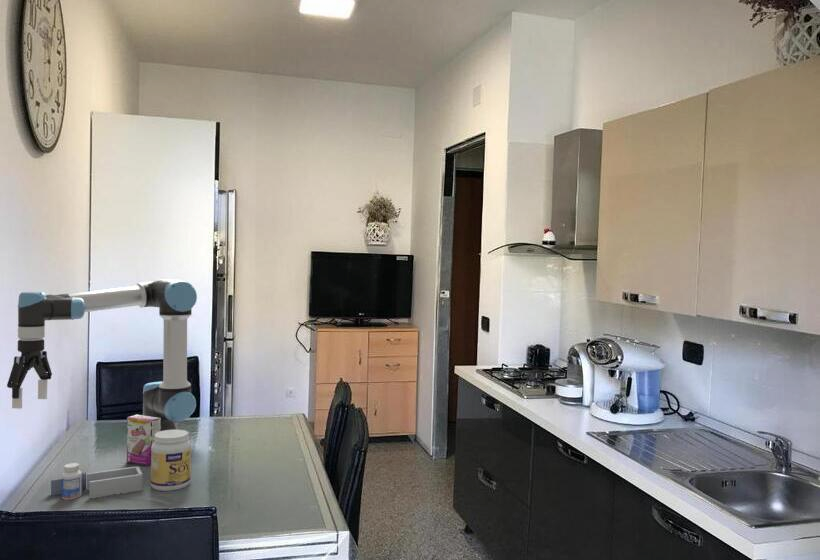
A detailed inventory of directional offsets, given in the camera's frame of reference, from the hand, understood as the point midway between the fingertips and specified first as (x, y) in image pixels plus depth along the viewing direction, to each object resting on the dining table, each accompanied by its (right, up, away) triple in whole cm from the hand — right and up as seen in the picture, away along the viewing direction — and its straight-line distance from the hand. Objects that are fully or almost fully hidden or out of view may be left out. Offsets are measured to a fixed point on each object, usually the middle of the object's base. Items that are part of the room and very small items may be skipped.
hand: (30, 403), depth 205 cm
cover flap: (+19, -25, -12) cm, 34 cm away
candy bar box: (+30, -25, +17) cm, 42 cm away
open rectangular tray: (+32, -25, -9) cm, 42 cm away
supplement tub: (+48, -26, -4) cm, 54 cm away
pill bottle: (+22, -26, -15) cm, 37 cm away
